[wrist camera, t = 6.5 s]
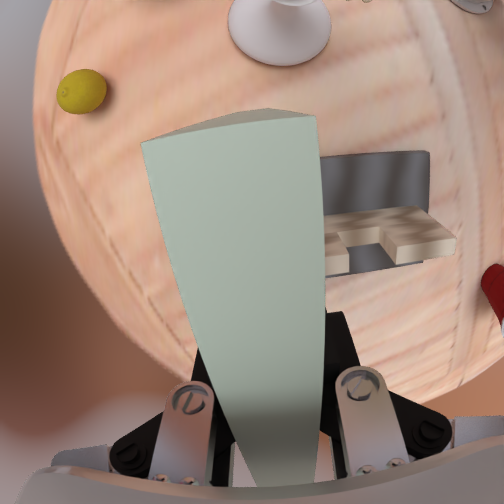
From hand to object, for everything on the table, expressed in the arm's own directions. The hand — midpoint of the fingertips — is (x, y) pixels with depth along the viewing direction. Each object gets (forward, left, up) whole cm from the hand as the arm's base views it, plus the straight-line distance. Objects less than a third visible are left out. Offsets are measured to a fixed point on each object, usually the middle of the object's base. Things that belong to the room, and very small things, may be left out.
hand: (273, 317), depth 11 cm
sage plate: (0, 0, -11) cm, 11 cm away
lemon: (+19, -14, -27) cm, 36 cm away
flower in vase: (-5, -17, -27) cm, 33 cm away
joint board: (-9, +8, -27) cm, 30 cm away
